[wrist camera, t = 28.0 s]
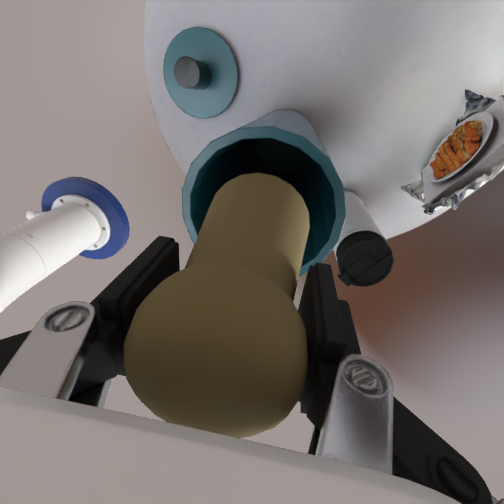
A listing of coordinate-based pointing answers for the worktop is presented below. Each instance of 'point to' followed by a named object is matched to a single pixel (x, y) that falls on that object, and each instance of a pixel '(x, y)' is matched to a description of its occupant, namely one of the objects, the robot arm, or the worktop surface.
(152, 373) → the cork
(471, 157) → the meal
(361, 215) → the travel mug
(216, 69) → the lid
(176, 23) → the worktop surface
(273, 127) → the teal faceted tube
